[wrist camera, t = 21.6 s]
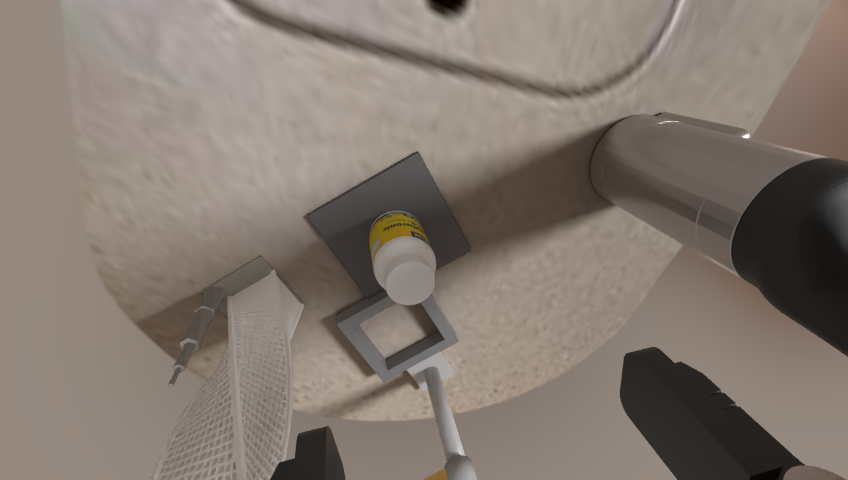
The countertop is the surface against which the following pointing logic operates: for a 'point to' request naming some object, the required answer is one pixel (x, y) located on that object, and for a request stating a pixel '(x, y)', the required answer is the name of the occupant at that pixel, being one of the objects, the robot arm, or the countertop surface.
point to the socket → (411, 359)
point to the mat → (385, 192)
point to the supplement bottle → (402, 257)
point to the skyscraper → (238, 383)
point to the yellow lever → (456, 470)
